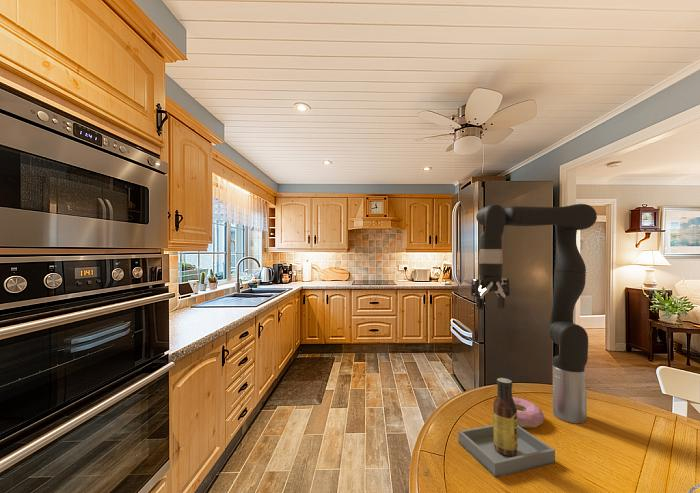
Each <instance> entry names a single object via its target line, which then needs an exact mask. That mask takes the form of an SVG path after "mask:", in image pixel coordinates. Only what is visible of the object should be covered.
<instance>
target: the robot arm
mask: <svg viewBox="0 0 700 493" xmlns="http://www.w3.org/2000/svg"><path fill="white" fill-rule="evenodd" d="M475 217H476V221H477V222H478V223H479V225H482V226H484V231H483V232H482V233H481V234H480V236H479V253H478V275H479V276H480V277H479V279H478V278H473V279H471V287H470V295H471V297H474V298H476V304H475V305H476V308H477V310H480V311H482V310H484V297H485V295H486V294H488V293H490V292H494V293H495V294H496V296H497V308H498V309H504V308H505V303H506V302H505V300H506V299H505V298H506V297H509V296H510V294H511V290H510V289H511V288H510V279H509V278H502V277H503V275H504V274H503V249H502V248H503V247H502V246H503V245H502V244H503V243H502V242H503V240H502V237H503V232H504V229H505V226H510V227H512V226H513V227H537V226H554V227H555V231H554V232H555V263H554V271H553V272H554V273H553V274H554V275H553V294H552V295H553V296H552V305H551V313H550V317H549V318H550V319H549V322H548V323H549V324H548V336H549V338H550V340H551V342H553V343H554V344H556V345H558V346H559V350H558V351H559V353H558V355H555V356H554V357H553V358H552V414H553V415H554V416H555V417H556V418H558V419H559V420H561V421H564V422H567V423H571V424H583V423H586V422H585V421H586V420H587V418H588V414H587V412H588V410H587V408H588V406H587V405H588V403H587V401H588V400H587V398H588V396H587V391H586V390H585V389H586V388H585V386H586V385H585V384H586V382H585V380H586V379H585V377H586V376H585V371H586V370H585V368H586V367H585V366H586V365H587V363H588V358H589V357H588V356H589V336H588V333H587V331H586V329H585V328H584V327H582V326H581V325H580V324H577V323H574V311H575V310H574V309H575V306H576V304H577V302H578V300H579V298H580V297H581V295H582V293H583V292H584V290H585V287H586V278H587V275H586V274H587V268H586V267H587V266H586V264H585V261H584V259H583V256H582V254H581V253H580V251H579V249H578V246H577V235H578V234H577V233H578V231H582V230H586V229H589V228H591V227H593V225H594V224H596V221H597V220H598V213H597V211H596V209H594V207H593V206H591V205H589V204H586V203H576V204H570V205H566V206H553V207H551V206H531V205H530V206H529V205H528V206H526V205H523V206H521V205H512V206H508V207H503V206H502V205H501V204H497V203H496V204H495V203H494V204H490V205H487V206H484V207H481V208H480V209H478V211H477V212H476V216H475Z"/></svg>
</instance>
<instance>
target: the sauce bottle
mask: <svg viewBox="0 0 700 493" xmlns="http://www.w3.org/2000/svg"><path fill="white" fill-rule="evenodd" d="M496 385H497V392H496V393H497V396H496V397H495V398H494V401H493V409H492V410H493V411H492V420H493V421H492V423H493V424H492V425H493V437H494V448H495V450H496V451H497V452H499V453H500V454H503V455H506V456H514V455H516V453H517V448H518V440H517V409H516V406H515V403H514V400H513V398H512V397H513V390H512V389H513V381H512V380H510V379H509V378H506V377H498V378H497V379H496Z"/></svg>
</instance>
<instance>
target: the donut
mask: <svg viewBox="0 0 700 493" xmlns="http://www.w3.org/2000/svg"><path fill="white" fill-rule="evenodd" d="M512 398H513V400H514V403H515V406H516V409H517V425H518V426H520V427H521V428H523V429H534V428H537V427H539V426H541V425H542V424H544V420H545V415H544V412H543V411H542V409H541V408H540V407H538V405H536V403H533V402H531V401H529V400H526V399H525V398H519V397H514V396H512Z"/></svg>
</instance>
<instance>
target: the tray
mask: <svg viewBox="0 0 700 493" xmlns="http://www.w3.org/2000/svg"><path fill="white" fill-rule="evenodd" d="M517 440H518V448H517V453H516V455H514V456H506V455H503V454H500V453H499V452H497V451H496V450H495V448H494V437H493V424H491V425H490V424H489V425H484V426H479V427H473V428H468V429H463V430H462V429H461V430H458V444H459V445H460V446H461V447H463V449H465V451H466V452H467V453H469V455H471V457H473V458H474V459H475V460H476V462H478V463H479V464H480V465H481V466H482V467H484V469H486V470H487V471H488V472H489V473H490V475H491V476H493V477H494V478H499V477H502V476H506V475H507V476H508V475H510V474H511V475H512V474H515V473H520V472H525V471H528V470H532V469H536V468H541V467H545V466H549V465H553V464H556V450H555V449H554V448H553V447H551V446H550V445H549V444H547V443H545V442H543V441H542V440H541V439H539V438H538V437H536V436H535V435H533V434H532V433H531V432H528V430H525V428H522V427H520V426H518V425H517Z"/></svg>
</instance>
